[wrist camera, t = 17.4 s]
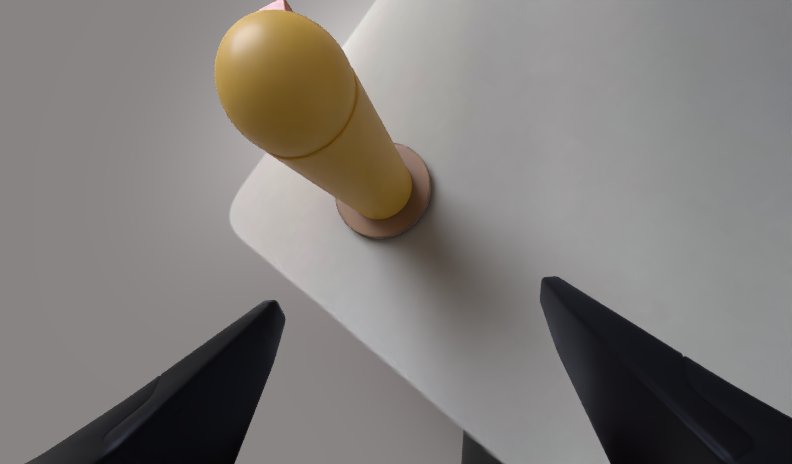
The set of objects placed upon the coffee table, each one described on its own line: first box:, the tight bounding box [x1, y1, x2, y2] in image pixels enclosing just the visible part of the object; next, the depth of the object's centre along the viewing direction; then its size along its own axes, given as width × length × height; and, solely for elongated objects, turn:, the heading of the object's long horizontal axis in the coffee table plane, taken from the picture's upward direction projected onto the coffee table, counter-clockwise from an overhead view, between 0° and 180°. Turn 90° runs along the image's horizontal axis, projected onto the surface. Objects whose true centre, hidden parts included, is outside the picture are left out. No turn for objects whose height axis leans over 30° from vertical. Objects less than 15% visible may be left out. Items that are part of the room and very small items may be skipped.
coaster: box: [336, 143, 431, 238], centre depth 20 cm, size 7×7×1 cm
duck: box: [215, 0, 412, 219], centre depth 14 cm, size 6×5×12 cm
